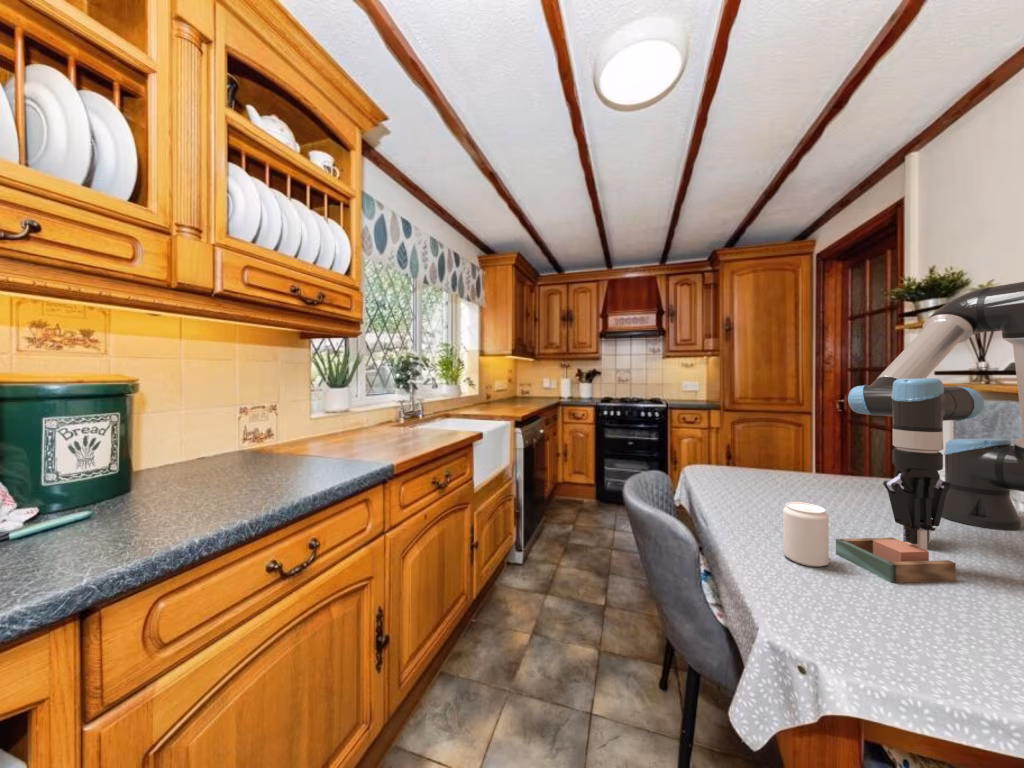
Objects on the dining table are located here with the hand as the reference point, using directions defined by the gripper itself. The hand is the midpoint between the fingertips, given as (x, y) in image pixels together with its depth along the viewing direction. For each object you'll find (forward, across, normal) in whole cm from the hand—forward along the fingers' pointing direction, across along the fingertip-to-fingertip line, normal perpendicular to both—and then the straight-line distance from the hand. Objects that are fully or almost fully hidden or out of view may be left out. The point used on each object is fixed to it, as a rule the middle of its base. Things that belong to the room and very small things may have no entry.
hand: (917, 557), depth 83 cm
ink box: (+2, -12, -11) cm, 16 cm away
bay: (+2, +5, 0) cm, 6 cm away
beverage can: (+2, +22, -4) cm, 22 cm away
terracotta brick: (+2, +4, 0) cm, 4 cm away
